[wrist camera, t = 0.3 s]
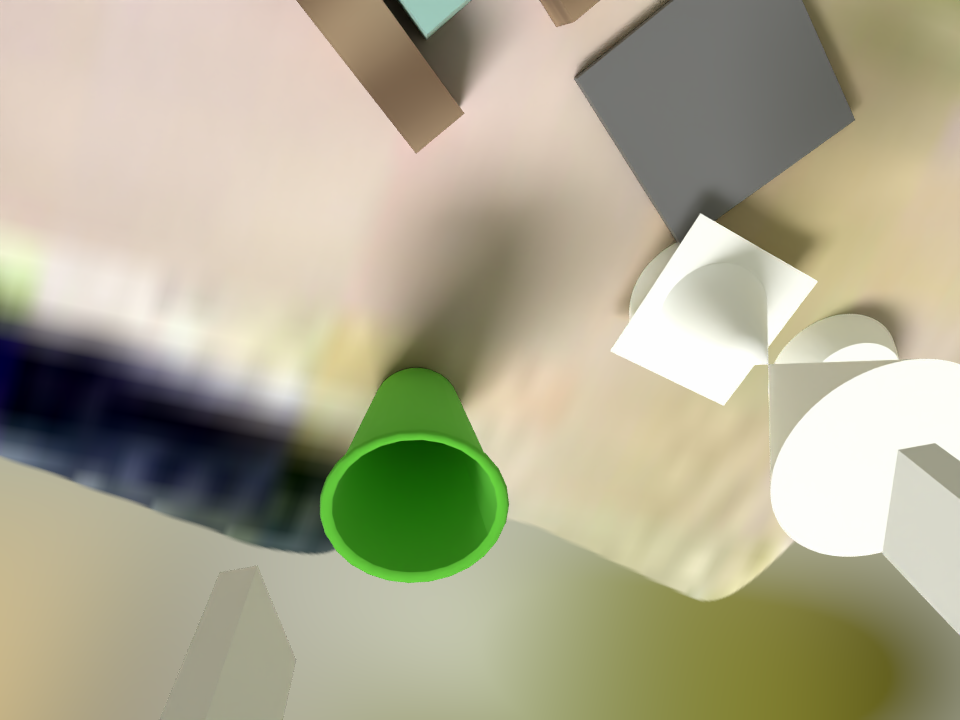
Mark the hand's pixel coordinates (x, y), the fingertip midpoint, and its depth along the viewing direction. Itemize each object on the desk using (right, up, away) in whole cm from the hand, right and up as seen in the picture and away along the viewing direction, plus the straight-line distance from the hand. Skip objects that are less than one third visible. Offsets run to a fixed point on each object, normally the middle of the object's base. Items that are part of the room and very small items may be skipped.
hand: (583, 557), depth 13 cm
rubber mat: (+10, +18, +21) cm, 29 cm away
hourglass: (+16, +5, +27) cm, 32 cm away
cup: (-6, +2, +27) cm, 28 cm away
